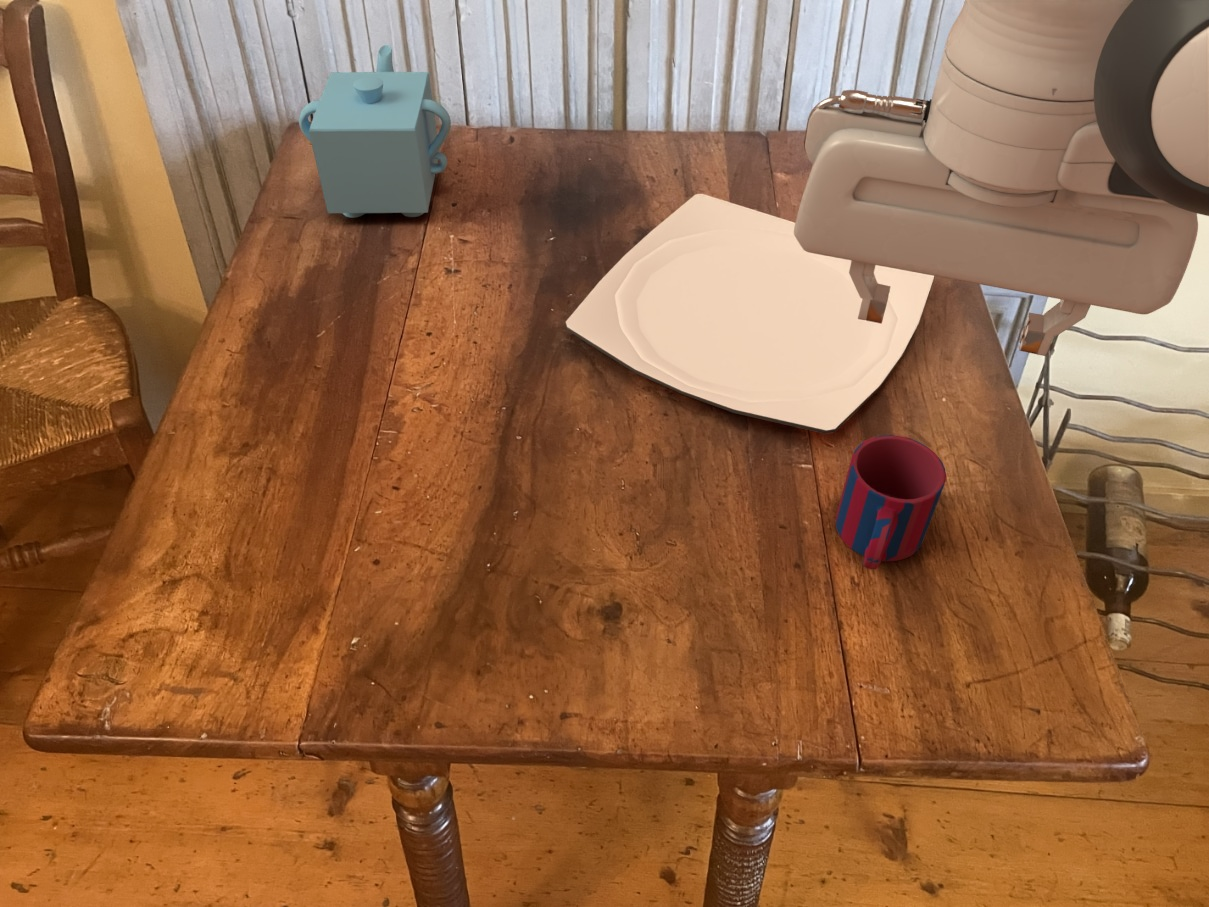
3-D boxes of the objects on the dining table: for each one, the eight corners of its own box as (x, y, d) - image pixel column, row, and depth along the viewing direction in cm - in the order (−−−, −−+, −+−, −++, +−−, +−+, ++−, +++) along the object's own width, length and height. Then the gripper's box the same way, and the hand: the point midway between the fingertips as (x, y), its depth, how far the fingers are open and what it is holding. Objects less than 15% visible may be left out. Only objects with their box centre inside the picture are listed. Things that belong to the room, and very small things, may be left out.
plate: (835, 471, 80) (841, 448, 78) (543, 350, 90) (542, 327, 88) (948, 289, 97) (955, 266, 95) (690, 204, 107) (692, 183, 105)
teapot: (454, 225, 104) (439, 110, 95) (306, 226, 104) (276, 111, 95) (467, 139, 117) (456, 30, 107) (335, 140, 116) (312, 30, 107)
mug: (934, 514, 77) (956, 454, 72) (895, 608, 71) (918, 549, 66) (851, 483, 79) (868, 423, 74) (807, 572, 73) (822, 512, 68)
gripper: (802, 112, 49) (768, 328, 59) (1247, 181, 45) (1130, 402, 55) (823, 58, 53) (788, 269, 63) (1233, 117, 49) (1126, 333, 59)
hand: (949, 331), depth 59 cm, fingers open, 8 cm apart
